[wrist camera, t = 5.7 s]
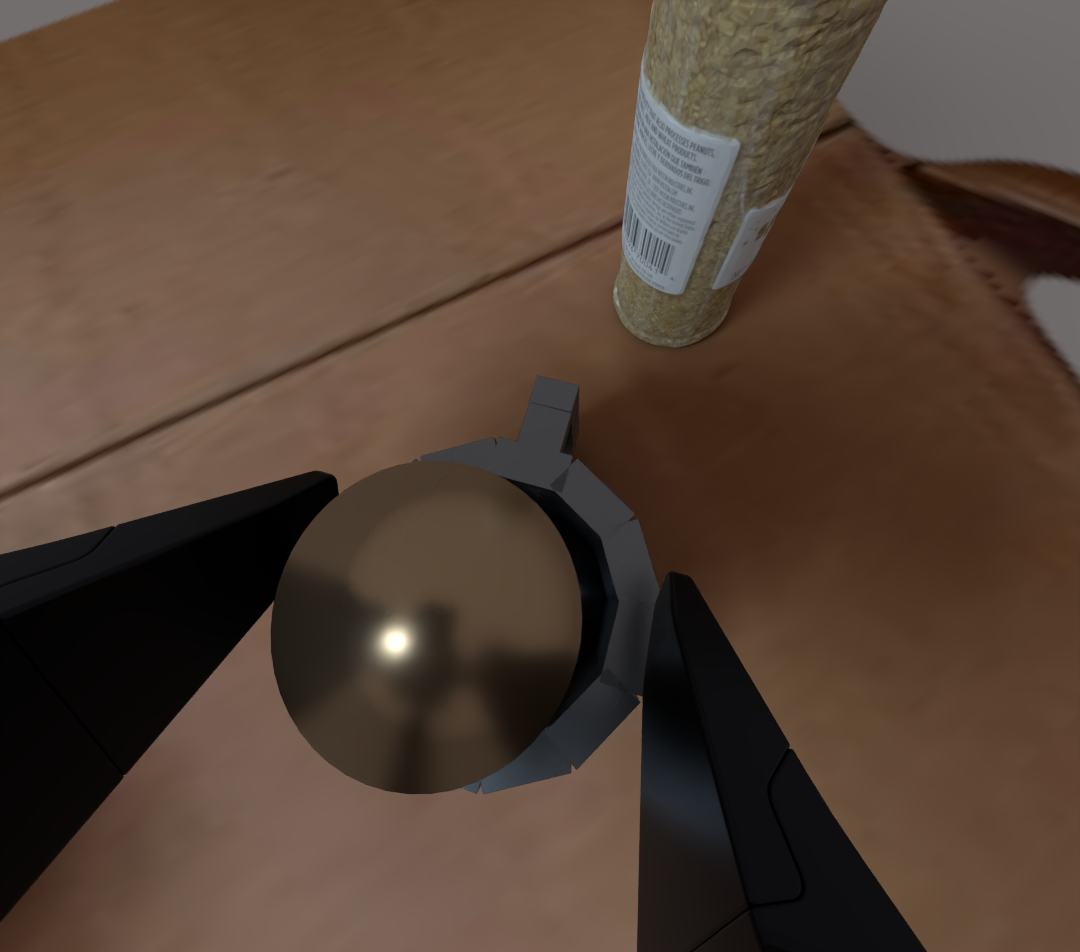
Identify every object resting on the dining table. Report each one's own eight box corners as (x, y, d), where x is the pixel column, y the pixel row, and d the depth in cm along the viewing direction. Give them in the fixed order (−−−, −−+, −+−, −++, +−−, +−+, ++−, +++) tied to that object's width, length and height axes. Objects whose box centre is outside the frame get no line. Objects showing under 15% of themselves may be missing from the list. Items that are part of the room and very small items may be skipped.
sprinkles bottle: (743, 335, 17) (1266, -444, 4) (627, 363, 17) (778, -306, 4) (706, 238, 18) (1026, -620, 5) (597, 265, 18) (644, -505, 5)
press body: (599, 755, 14) (609, 844, 9) (372, 675, 15) (278, 718, 11) (669, 459, 16) (707, 408, 11) (464, 408, 17) (420, 342, 13)
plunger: (558, 689, 14) (528, 847, 5) (424, 644, 14) (219, 727, 6) (595, 547, 14) (617, 504, 6) (467, 511, 15) (339, 429, 7)
